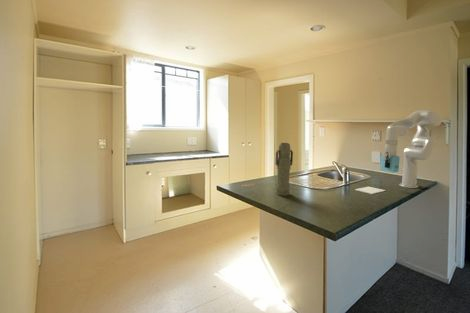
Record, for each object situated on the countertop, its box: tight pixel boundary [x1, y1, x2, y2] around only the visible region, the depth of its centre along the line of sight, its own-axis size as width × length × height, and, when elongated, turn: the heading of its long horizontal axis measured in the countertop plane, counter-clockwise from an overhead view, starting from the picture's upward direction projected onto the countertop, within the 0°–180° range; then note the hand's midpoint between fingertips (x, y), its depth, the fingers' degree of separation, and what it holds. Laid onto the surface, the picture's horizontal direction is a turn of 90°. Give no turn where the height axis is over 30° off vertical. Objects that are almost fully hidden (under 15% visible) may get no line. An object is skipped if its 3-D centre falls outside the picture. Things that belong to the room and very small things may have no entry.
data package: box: [379, 153, 400, 173], centre depth 199 cm, size 12×4×12 cm, turn 18°
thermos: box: [275, 142, 294, 197], centre depth 182 cm, size 9×12×35 cm
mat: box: [354, 186, 386, 195], centre depth 198 cm, size 18×13×1 cm
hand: (389, 167), depth 199 cm, fingers closed on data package, 5 cm apart
